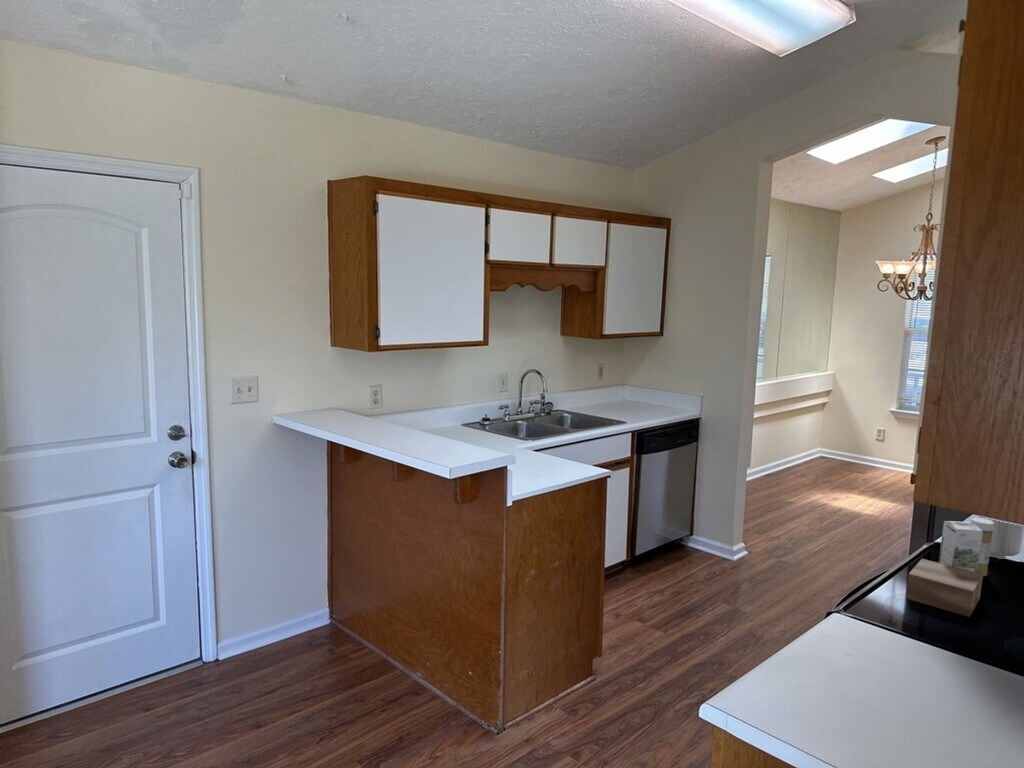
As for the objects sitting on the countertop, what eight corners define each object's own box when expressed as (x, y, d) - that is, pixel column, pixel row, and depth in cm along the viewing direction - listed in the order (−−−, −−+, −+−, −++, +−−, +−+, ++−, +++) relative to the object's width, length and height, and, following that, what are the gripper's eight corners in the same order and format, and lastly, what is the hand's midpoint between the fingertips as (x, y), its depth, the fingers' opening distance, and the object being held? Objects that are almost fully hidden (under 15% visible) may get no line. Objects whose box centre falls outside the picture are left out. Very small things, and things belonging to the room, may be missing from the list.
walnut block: (918, 582, 160) (921, 558, 160) (979, 599, 152) (983, 574, 151) (905, 599, 152) (908, 573, 151) (969, 618, 144) (973, 591, 143)
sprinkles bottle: (975, 568, 169) (982, 516, 167) (992, 576, 164) (999, 522, 162) (960, 570, 168) (967, 517, 166) (976, 577, 163) (984, 524, 161)
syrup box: (961, 579, 162) (968, 520, 160) (975, 590, 157) (983, 529, 154) (935, 577, 163) (943, 519, 161) (948, 588, 157) (956, 528, 155)
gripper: (1028, 410, 150) (1017, 485, 152) (938, 399, 162) (929, 469, 164) (1022, 414, 145) (1011, 492, 147) (929, 402, 157) (920, 474, 159)
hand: (968, 480), depth 156 cm, fingers open, 9 cm apart
